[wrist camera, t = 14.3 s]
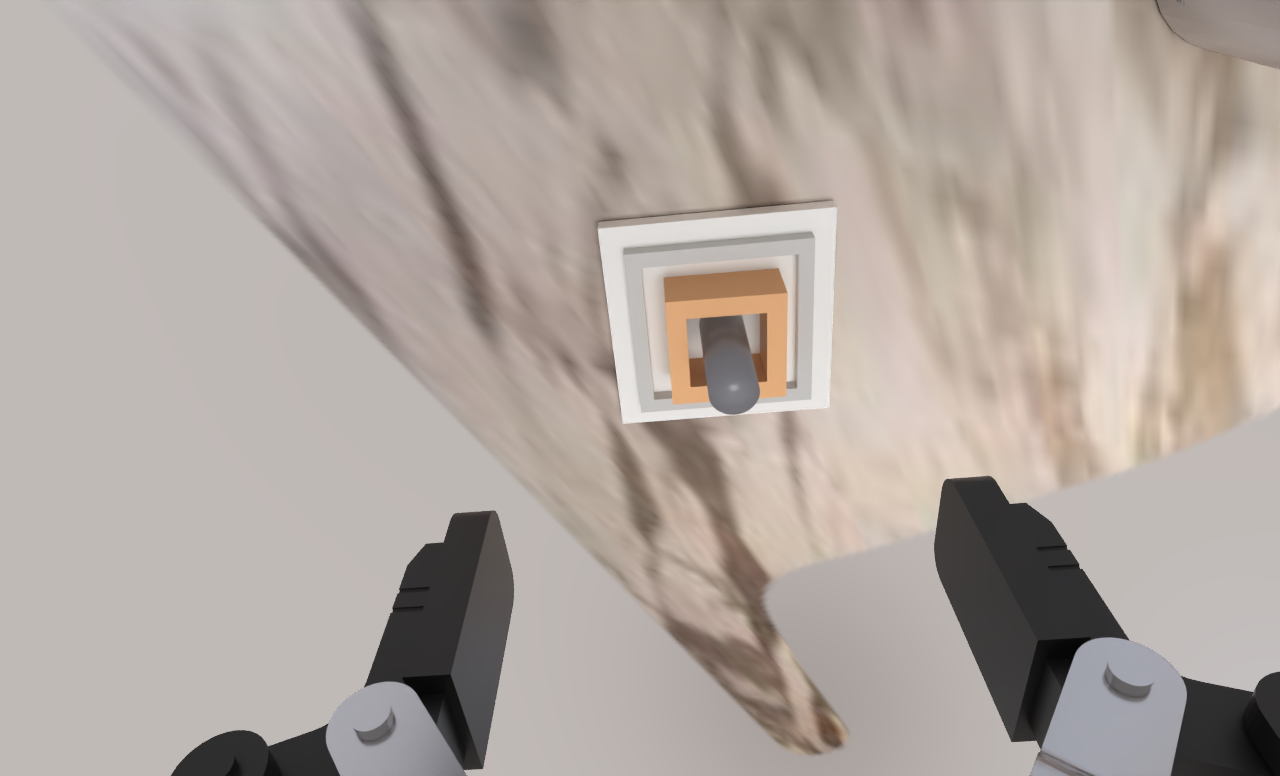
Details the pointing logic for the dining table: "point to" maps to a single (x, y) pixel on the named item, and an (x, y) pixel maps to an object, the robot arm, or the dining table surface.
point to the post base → (657, 298)
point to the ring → (727, 299)
